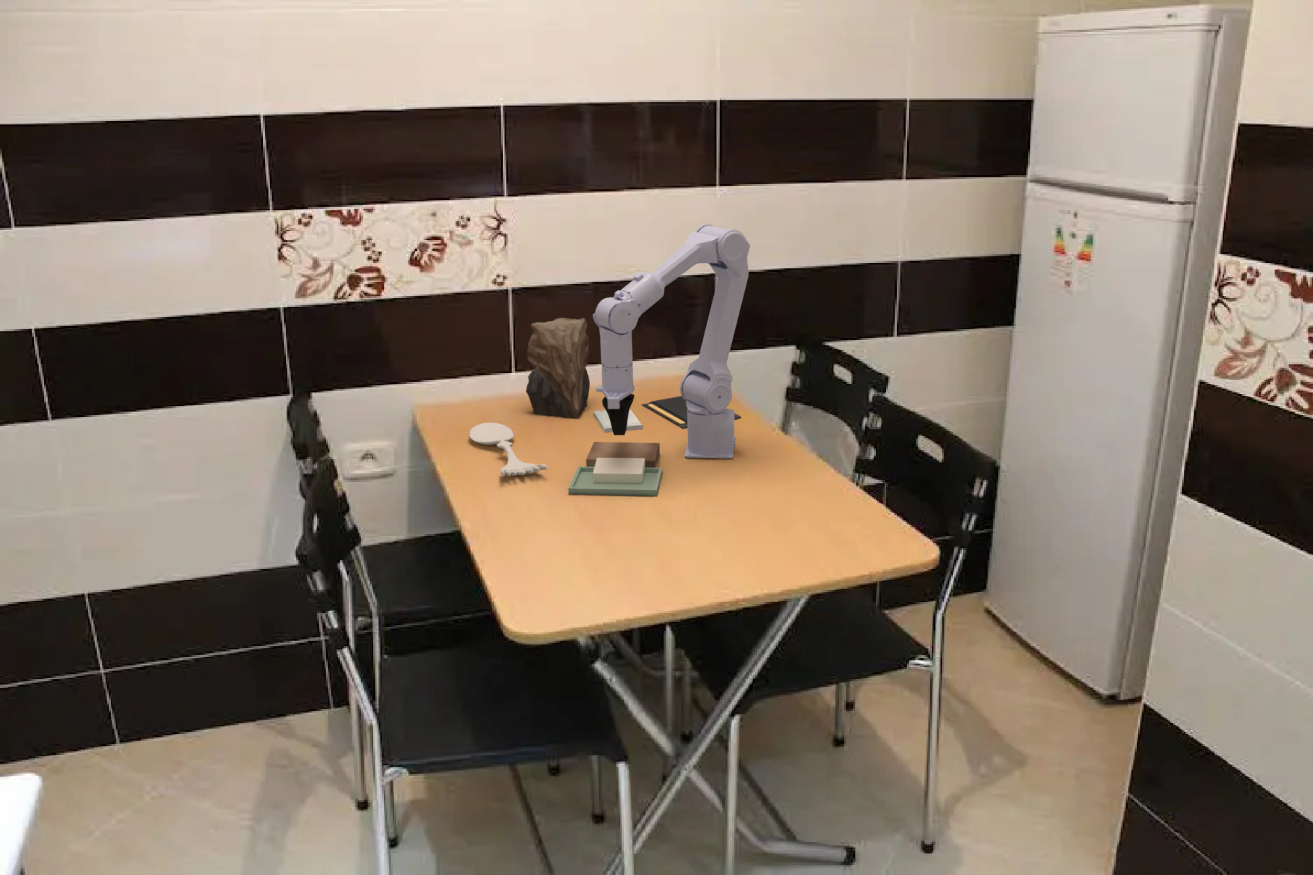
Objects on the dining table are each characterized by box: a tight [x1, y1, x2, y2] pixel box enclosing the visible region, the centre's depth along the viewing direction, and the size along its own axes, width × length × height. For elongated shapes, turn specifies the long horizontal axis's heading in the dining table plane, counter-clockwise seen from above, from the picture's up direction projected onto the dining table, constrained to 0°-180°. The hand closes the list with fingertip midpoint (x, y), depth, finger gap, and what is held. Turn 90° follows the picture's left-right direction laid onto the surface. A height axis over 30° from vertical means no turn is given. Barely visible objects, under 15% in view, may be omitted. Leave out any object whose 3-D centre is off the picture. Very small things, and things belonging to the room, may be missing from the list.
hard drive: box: [593, 408, 644, 434], centre depth 241 cm, size 2×8×12 cm
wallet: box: [641, 395, 742, 430], centre depth 247 cm, size 20×2×15 cm
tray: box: [567, 465, 664, 497], centre depth 206 cm, size 16×11×1 cm
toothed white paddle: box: [468, 422, 548, 477], centre depth 221 cm, size 9×32×4 cm, turn 21°
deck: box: [585, 441, 661, 468], centre depth 216 cm, size 13×10×2 cm
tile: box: [593, 458, 645, 483], centre depth 208 cm, size 9×6×2 cm, turn 85°
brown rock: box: [525, 317, 591, 420], centre depth 247 cm, size 13×13×20 cm
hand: (619, 434), depth 210 cm, fingers closed
